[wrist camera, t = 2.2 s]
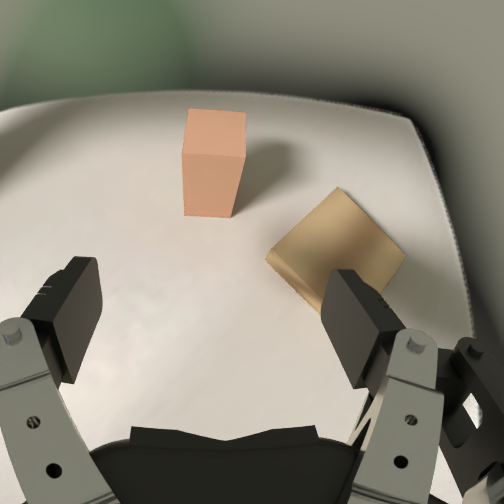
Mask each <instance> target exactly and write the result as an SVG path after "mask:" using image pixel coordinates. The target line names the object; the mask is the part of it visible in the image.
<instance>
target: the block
mask: <svg viewBox="0 0 504 504" xmlns="http://www.w3.org/2000/svg"><path fill="white" fill-rule="evenodd" d="M245 159H246V113H245V112H234V111H222V110H208V109H188V115H187V121H186V128H185V134H184V141H183V148H182V175H183V197H184V216H202V217H220V218H231V214H232V210H233V206H234V202H235V198H236V194H237V190H238V186H239V182H240V178H241V174H242V170H243V167H244V163H245Z"/></svg>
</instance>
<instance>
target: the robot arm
mask: <svg viewBox="0 0 504 504" xmlns="http://www.w3.org/2000/svg"><path fill="white" fill-rule="evenodd" d="M101 312H102V292H101V286H100V279H99V271H98V263H97V260H96V258H95V257H79V256H74V257H73V258H72V260H71V261H70V262H69V263H68V265H67V266H66V267H65V269H64V270H59V271H57V272H56V273H54V274H53V275H51V276H50V277H49V278H48V279H47V281H46V282H45V283H44V285H43V288H42V287H41V289H40V290H39V291H38V293H37V295H35V297H34V298H33V300H32V301H31V302H30V304H29V305H28V307H27V308H26V310H25V311H24V312H23V314H22V315H21V317H16V318H10V319H7V320H4V321H2V322H1V323H0V427H1V431H2V434H3V438H4V441H5V444H6V447H7V451H8V454H9V457H10V460H11V462H12V465H13V468H14V471H15V473H16V476H17V479H18V481H19V484H20V486H21V489H22V491H23V493H24V496H25V498H26V501H25V502H24V503H22V504H448V503H446V502H444V501H442V500H440V499H439V498H437V497H435V496H433V495H431V494H430V489H431V484H432V479H433V474H434V469H435V464H436V458H437V453H438V446H440V449H441V451H442V453H443V455H444V457H445V459H446V461H447V464H448V466H449V468H450V470H451V472H452V475H453V477H454V479H455V482H456V484H457V486H458V488H459V491H460V493H461V496H462V498H463V501H462V504H504V368H503V366H502V365H501V364H500V363H499V361H498V360H497V359H496V357H495V356H494V355H493V354H492V352H491V351H490V350H489V349H488V347H487V346H485V345H484V344H483V343H482V342H480V341H478V340H476V339H474V338H470V337H464V338H461V339H460V340H459V341H458V343H457V345H456V347H455V348H454V350H449V349H441V348H438V347H437V345H436V343H435V341H434V340H433V339H432V338H431V337H430V336H428V335H427V334H425V333H423V332H421V331H418V330H414V329H407V328H406V327H405V326H404V324H403V323H402V322H401V321H400V319H399V318H398V317H397V315H396V314H395V313H394V312H393V310H392V309H391V308H389V305H388V304H387V303H386V301H384V299H383V298H382V296H381V295H380V294H379V293H378V291H377V290H375V289H374V288H373V287H371V286H370V285H368V284H367V283H364V281H363V280H362V279H361V278H360V276H359V275H358V274H357V273H356V271H355V270H353V269H332V270H331V272H330V274H329V278H328V282H327V286H326V289H325V293H324V297H323V301H322V305H321V321H322V324H323V326H324V328H325V330H326V332H327V334H328V336H329V338H330V340H331V343H332V345H333V347H334V349H335V351H336V353H337V355H338V357H339V359H340V362H341V364H342V366H343V368H344V370H345V372H346V374H347V377H348V379H349V381H350V383H351V385H352V387H353V389H359V388H366V387H367V388H368V390H369V392H368V394H367V396H366V398H365V400H364V403H363V405H362V408H361V411H360V413H359V416H358V418H357V421H356V423H355V426H354V428H353V431H352V433H351V435H350V438H349V440H348V442H347V444H345V443H343V442H339V441H336V440H333V439H327V438H321V437H318V434H317V431H316V428H315V425H312V426H303V427H293V428H282V429H271V430H268V431H264V432H260V433H257V434H253V435H249V436H245V437H241V438H237V439H233V440H228V441H223V440H217V439H212V438H208V437H203V436H199V435H195V434H191V433H187V432H183V431H179V430H169V429H155V428H144V427H134V426H131V433H130V439H123V440H119V441H114V442H111V443H108V444H105V445H102V446H100V447H98V448H96V449H94V450H92V451H89V449H88V448H87V446H86V444H85V442H84V441H83V439H82V437H81V435H80V433H79V431H78V430H77V428H76V426H75V424H74V422H73V420H72V418H71V416H70V414H69V412H68V410H67V407H66V405H65V403H64V401H63V399H62V397H61V394H60V392H59V390H58V389H59V387H60V384H61V382H63V383H69V384H74V383H75V380H76V377H77V374H78V372H79V369H80V366H81V363H82V361H83V358H84V355H85V353H86V350H87V348H88V345H89V343H90V340H91V338H92V335H93V333H94V330H95V328H96V325H97V323H98V320H99V318H100V316H101ZM470 393H472V394H473V396H474V398H475V399H476V401H477V402H478V404H479V406H480V407H481V409H482V411H483V421H482V424H481V425H480V426H479V428H478V429H476V427H475V425H474V423H473V422H472V420H471V418H470V416H469V415H468V413H467V411H466V410H465V408H464V406H463V405H462V404H463V403H464V401H465V400H466V399H467V397H468V396H469V395H470Z"/></svg>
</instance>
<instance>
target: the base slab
mask: <svg viewBox="0 0 504 504" xmlns="http://www.w3.org/2000/svg"><path fill="white" fill-rule="evenodd" d="M405 258H406V256H405V254H404V253H403V252H402V251H401V250H400V249H399V248H398V247H397V246H396V245H395V244H394V243H393V242H392V240H391V239H390V238H389V237H388V236H387V235H386V234H385V233H384V232H383V231H382V230H381V229H380V228H379V227H378V226H377V225H376V224H375V223H374V222H373V221H372V220H371V219H370V218H369V217H368V216H367V215H366V214H365V213H364V212H363V211H362V210H361V209H360V208H359V207H358V206H357V205H356V204H355V203H354V202H353V201H352V200H351V199H350V198H349V197H348V196H347V195H346V194H345V193H344V192H343V191H342V190H341V189H340V188H339V187H337V188H335V189H334V190H333V191H332V192H331V193H330V194H329V195H328V196H327V197H326V198H325V199H324V200H323V201H322V202H321V203H320V204H319V205H318V206H317V207H315V208H314V209H313V210H312V211H311V212H310V213H309V214H308V215H307V216H306V217H305V218H304V219H303V220H302V221H301V222H300V223H299V224H298V225H296V226H295V227H294V228H293V229H292V230H291V231H290V232H289V233H288V234H287V235H286V236H285V237H284V238H283V239H282V240H281V241H279V242H278V243H277V244H276V245H275V246H274V247H273V248H272V249H271V250H270V252H269V253H268V255H267V257H266V258H265V260H266V261H267V262H268V263H269V264H270V265H271V266H272V267H273V268H274V269H275V270H276V271H277V272H278V273H279V274H280V275H281V276H282V277H283V278H284V279H285V280H286V281H287V282H288V283H289V284H290V285H291V286H292V287H293V288H294V289H295V290H296V291H297V292H298V293H299V294H300V295H301V296H302V297H303V298H304V299H305V300H306V301H307V302H308V303H309V304H310V305H311V306H312V307H313V308H314V309H315V310H316V311H317V312H318V313H319V314H320V315H321V305H322V301H323V297H324V293H325V289H326V286H327V282H328V278H329V274H330V272H331V270H332V269H353V270H355V271H356V273H357V274H358V275H359V276H360V278H361V279H362V280H363V281H364V283H367V284H368V285H370V286H371V287H373V288H374V289H375V290H377V291H378V293H379V294H380V293H381V292H382V291H383V289H384V288H385V286H386V285H387V284H388V282H389V281H390V279H391V278H392V277H393V275H394V274H395V272H396V271H397V269H398V268H399V266H400V265H401V264H402V262H403V261H404V259H405Z"/></svg>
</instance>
